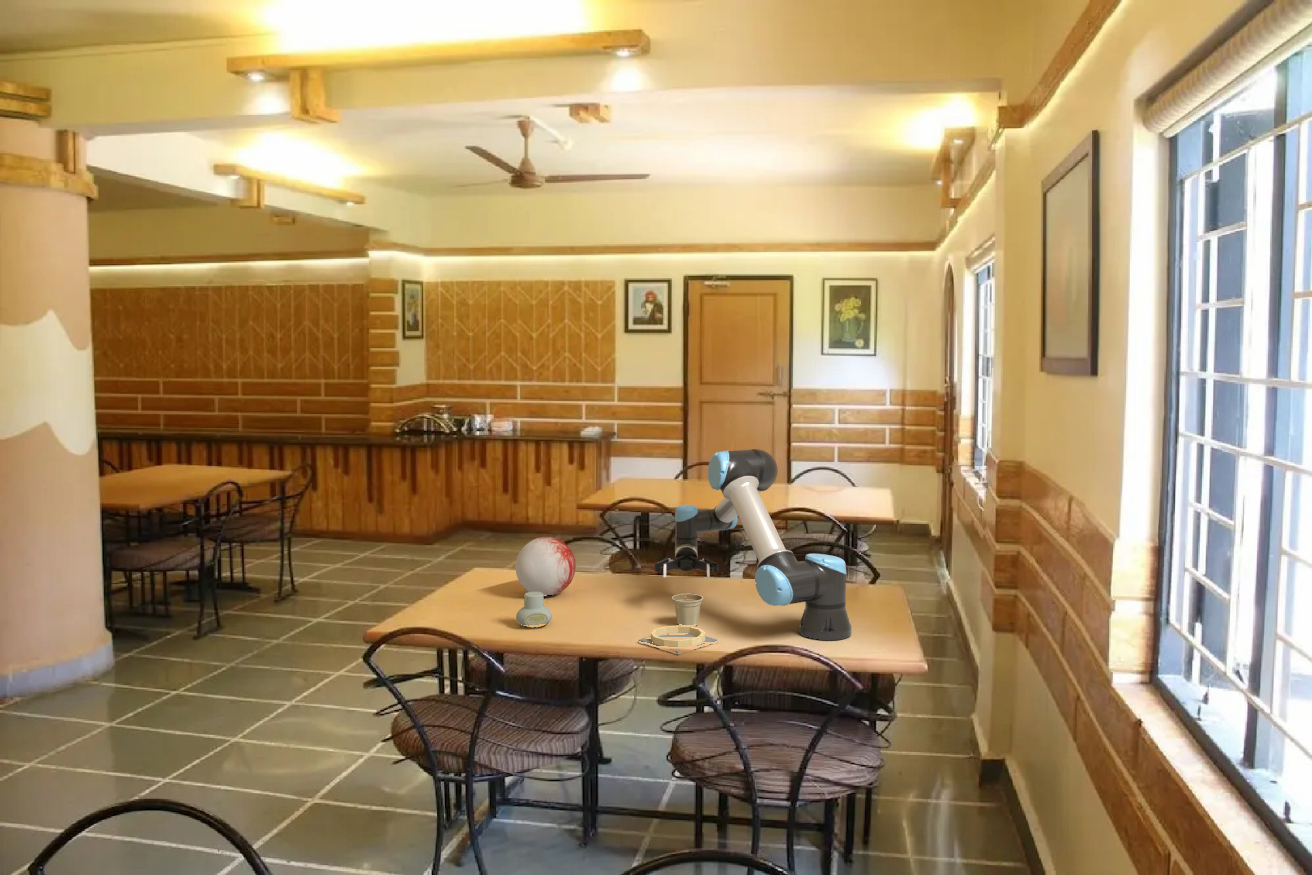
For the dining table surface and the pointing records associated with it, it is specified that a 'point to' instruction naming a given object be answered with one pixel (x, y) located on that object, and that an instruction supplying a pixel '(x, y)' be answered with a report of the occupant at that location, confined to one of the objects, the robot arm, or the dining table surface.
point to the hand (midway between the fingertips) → (686, 573)
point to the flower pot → (687, 608)
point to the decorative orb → (545, 566)
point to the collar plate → (692, 632)
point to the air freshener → (534, 610)
